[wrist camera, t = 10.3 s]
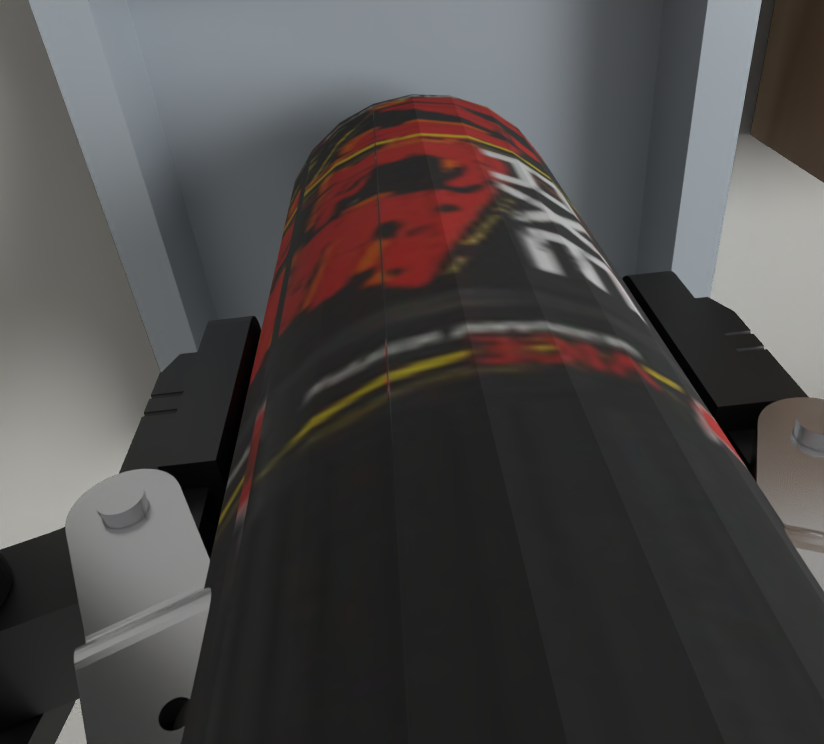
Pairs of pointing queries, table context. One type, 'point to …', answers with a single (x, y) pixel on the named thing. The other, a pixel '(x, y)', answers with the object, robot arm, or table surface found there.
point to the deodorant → (484, 482)
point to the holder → (794, 85)
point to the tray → (380, 81)
